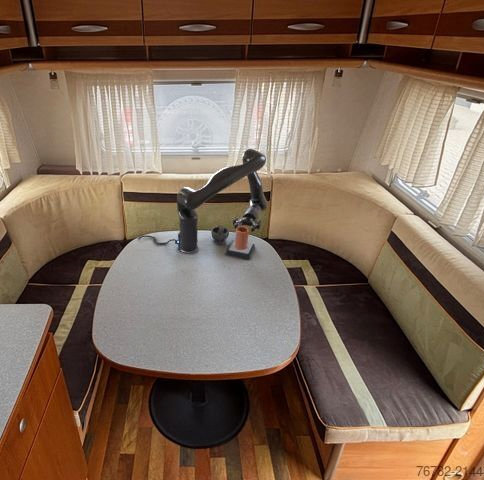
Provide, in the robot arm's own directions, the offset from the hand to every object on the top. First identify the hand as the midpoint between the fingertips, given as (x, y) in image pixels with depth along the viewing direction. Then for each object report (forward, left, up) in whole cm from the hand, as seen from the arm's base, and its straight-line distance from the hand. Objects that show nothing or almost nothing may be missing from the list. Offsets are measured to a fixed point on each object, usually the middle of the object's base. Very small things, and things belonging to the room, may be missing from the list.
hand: (243, 228), depth 182 cm
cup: (0, -3, -9) cm, 9 cm away
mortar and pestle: (-13, +2, -12) cm, 18 cm away
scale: (0, -3, -12) cm, 12 cm away
